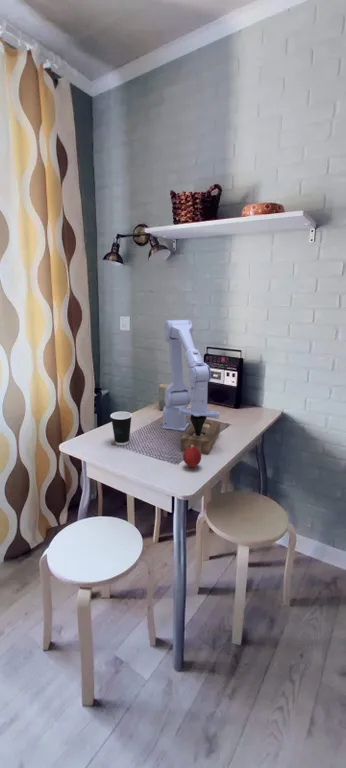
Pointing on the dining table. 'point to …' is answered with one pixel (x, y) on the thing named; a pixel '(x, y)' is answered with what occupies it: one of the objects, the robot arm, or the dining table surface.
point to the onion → (192, 456)
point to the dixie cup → (121, 427)
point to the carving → (162, 396)
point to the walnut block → (204, 442)
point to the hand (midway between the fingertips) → (198, 435)
